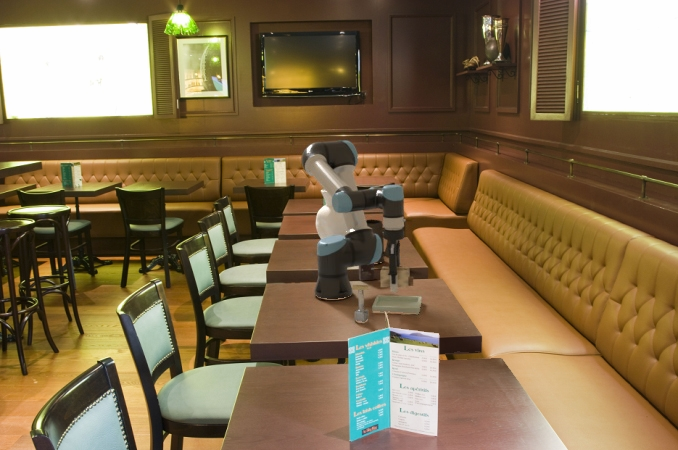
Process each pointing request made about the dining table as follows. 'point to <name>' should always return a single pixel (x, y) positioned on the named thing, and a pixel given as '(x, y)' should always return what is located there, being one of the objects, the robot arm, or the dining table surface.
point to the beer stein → (378, 230)
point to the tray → (397, 304)
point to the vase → (329, 219)
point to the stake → (361, 303)
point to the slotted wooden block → (403, 277)
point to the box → (366, 272)
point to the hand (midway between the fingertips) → (395, 288)
